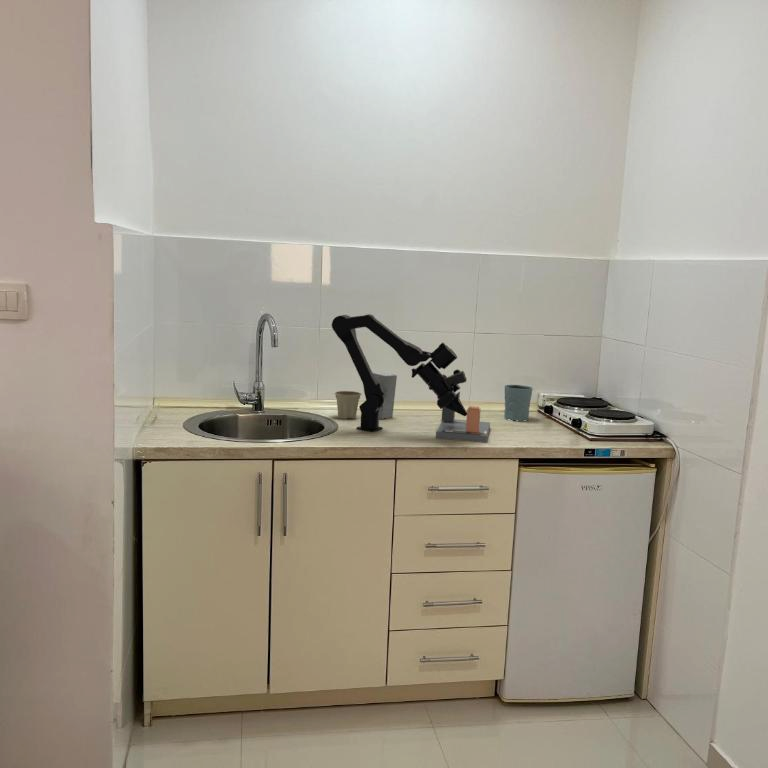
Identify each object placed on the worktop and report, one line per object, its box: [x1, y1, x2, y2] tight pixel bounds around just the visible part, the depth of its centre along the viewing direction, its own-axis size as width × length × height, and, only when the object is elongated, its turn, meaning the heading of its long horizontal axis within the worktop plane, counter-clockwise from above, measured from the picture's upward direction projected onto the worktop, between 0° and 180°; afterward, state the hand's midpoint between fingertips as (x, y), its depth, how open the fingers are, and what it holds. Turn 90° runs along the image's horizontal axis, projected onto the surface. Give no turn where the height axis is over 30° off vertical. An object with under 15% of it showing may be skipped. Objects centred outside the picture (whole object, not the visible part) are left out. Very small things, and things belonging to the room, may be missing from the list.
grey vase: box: [372, 370, 398, 420], centre depth 270 cm, size 8×7×16 cm
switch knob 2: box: [465, 405, 481, 432], centre depth 244 cm, size 4×4×8 cm
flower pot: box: [334, 390, 362, 420], centre depth 267 cm, size 9×9×9 cm
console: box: [435, 418, 491, 443], centre depth 252 cm, size 16×22×2 cm
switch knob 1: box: [441, 407, 456, 421], centre depth 259 cm, size 4×4×8 cm
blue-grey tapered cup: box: [503, 384, 533, 422], centre depth 279 cm, size 10×10×12 cm
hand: (466, 415), depth 244 cm, fingers closed, pressing on switch knob 2
